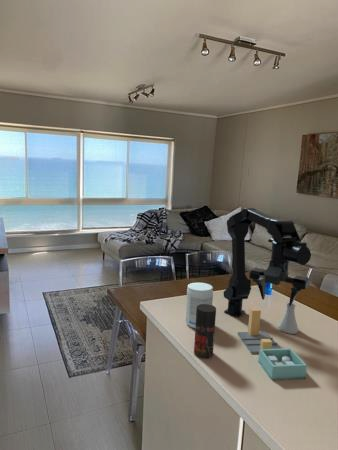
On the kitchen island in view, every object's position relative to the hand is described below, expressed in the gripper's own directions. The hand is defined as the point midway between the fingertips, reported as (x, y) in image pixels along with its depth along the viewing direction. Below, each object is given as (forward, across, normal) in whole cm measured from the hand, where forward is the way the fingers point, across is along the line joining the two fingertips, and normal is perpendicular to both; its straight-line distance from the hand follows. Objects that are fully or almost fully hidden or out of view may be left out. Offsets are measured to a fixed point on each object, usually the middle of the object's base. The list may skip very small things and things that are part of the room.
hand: (276, 302), depth 112 cm
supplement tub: (+13, -26, -7) cm, 30 cm away
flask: (+14, +2, +11) cm, 18 cm away
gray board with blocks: (+14, -3, -6) cm, 15 cm away
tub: (+14, +8, -17) cm, 23 cm away
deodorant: (+14, -14, -24) cm, 31 cm away
